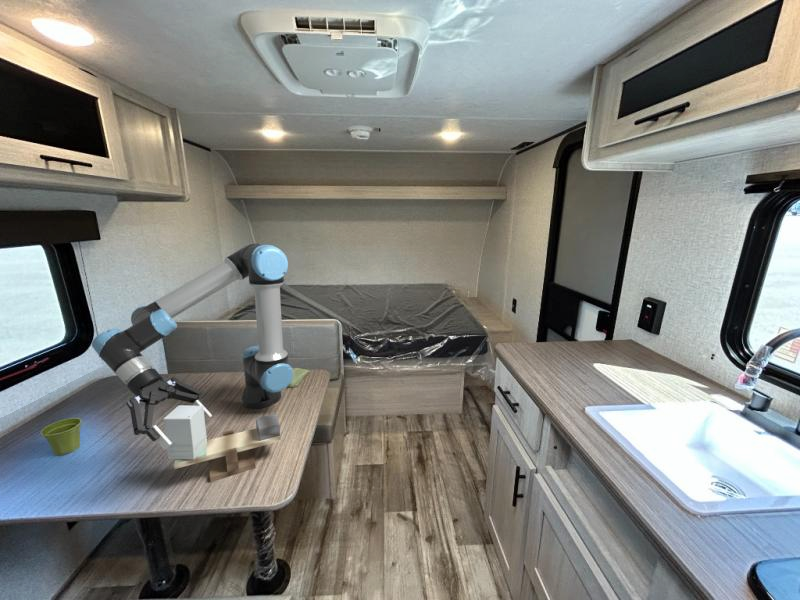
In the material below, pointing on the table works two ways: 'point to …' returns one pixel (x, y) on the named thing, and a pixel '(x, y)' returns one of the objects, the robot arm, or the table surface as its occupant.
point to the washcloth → (298, 376)
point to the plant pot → (63, 435)
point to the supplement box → (185, 432)
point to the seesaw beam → (238, 441)
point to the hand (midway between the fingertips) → (190, 431)
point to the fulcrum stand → (231, 462)
